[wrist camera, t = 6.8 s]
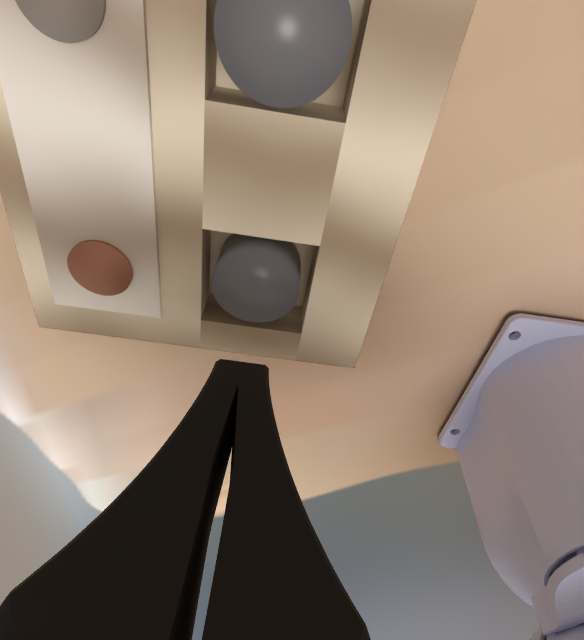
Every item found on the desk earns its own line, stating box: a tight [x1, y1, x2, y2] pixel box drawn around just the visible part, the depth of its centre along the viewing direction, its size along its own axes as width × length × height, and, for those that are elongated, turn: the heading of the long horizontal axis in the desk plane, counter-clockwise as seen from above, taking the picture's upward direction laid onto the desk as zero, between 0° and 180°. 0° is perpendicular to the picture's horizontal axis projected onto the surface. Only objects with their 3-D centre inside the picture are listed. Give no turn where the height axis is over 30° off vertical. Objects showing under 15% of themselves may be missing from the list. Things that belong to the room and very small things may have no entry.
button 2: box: [212, 234, 301, 323], centre depth 17 cm, size 3×3×2 cm
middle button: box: [214, 0, 352, 108], centre depth 11 cm, size 3×3×2 cm
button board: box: [0, 0, 477, 368], centre depth 12 cm, size 23×13×3 cm, turn 172°
